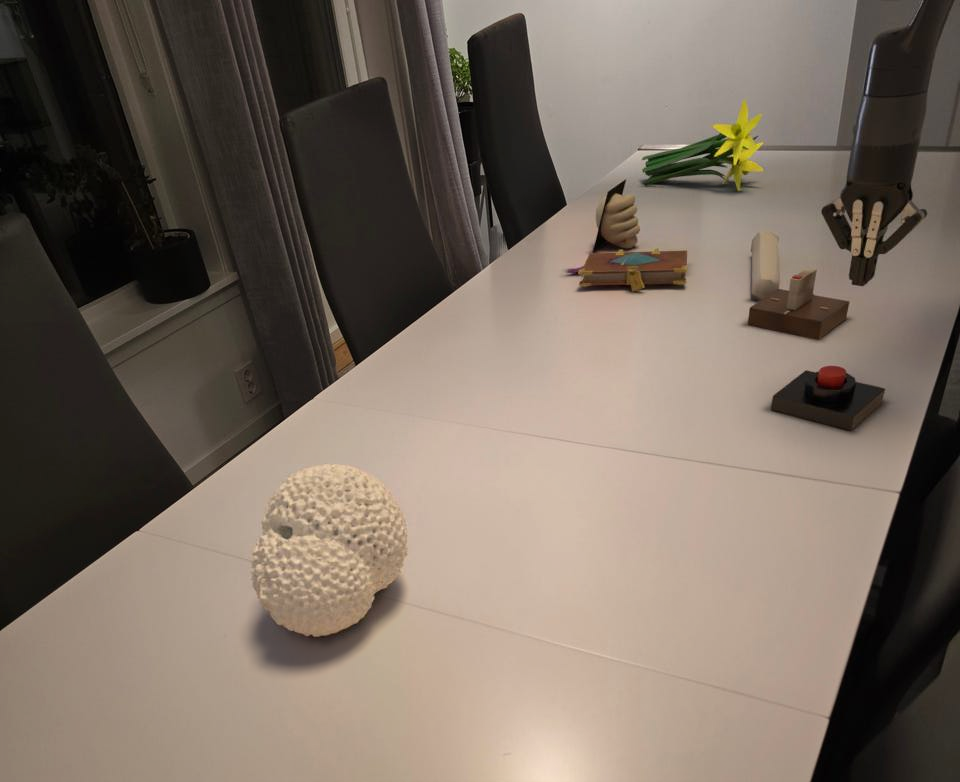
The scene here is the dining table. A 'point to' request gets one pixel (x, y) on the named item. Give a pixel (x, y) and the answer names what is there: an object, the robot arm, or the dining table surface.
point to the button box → (828, 400)
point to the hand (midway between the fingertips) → (859, 283)
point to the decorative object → (617, 219)
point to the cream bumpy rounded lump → (327, 548)
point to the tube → (765, 264)
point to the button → (831, 376)
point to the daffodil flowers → (733, 146)
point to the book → (634, 268)
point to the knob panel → (798, 314)
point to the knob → (801, 288)
